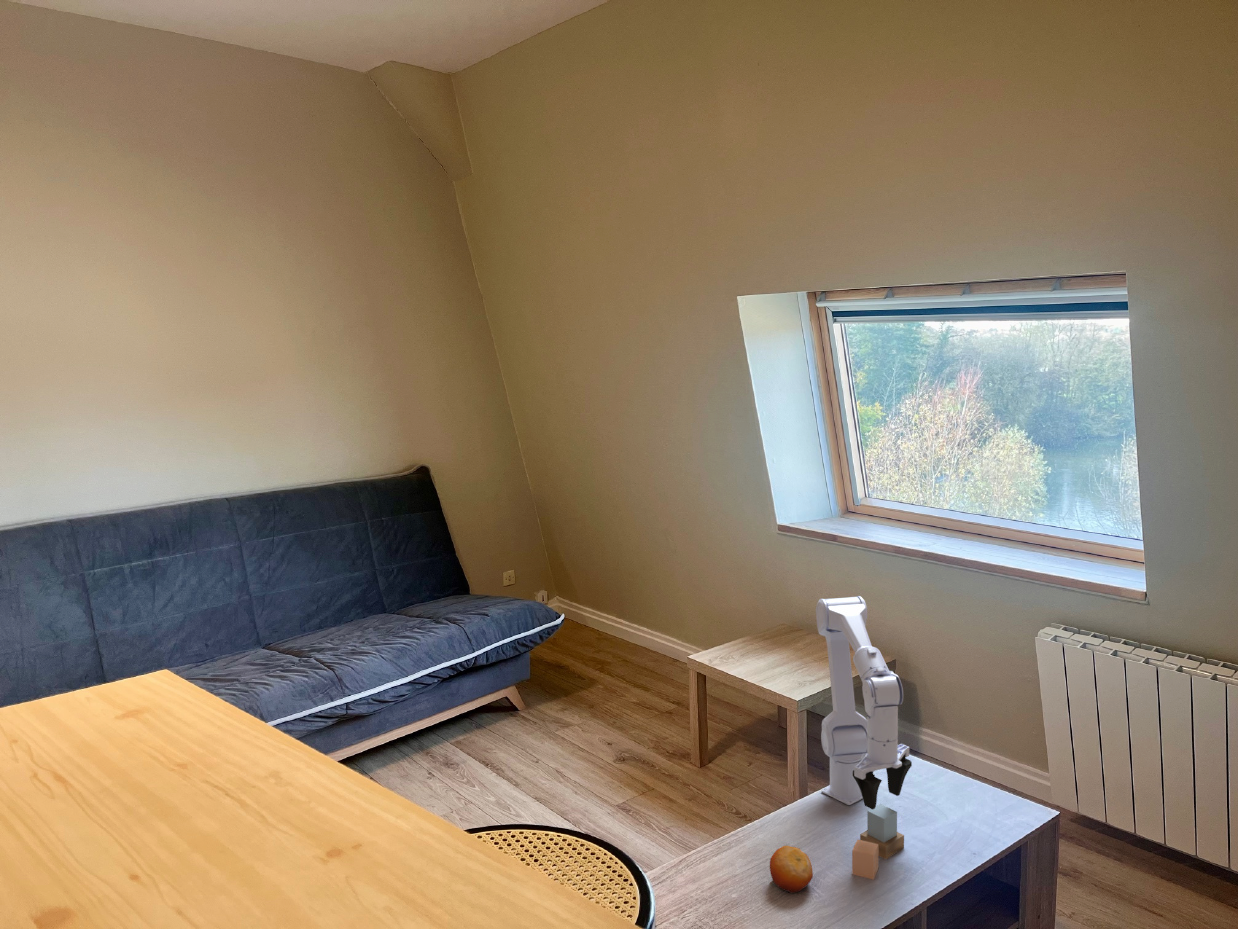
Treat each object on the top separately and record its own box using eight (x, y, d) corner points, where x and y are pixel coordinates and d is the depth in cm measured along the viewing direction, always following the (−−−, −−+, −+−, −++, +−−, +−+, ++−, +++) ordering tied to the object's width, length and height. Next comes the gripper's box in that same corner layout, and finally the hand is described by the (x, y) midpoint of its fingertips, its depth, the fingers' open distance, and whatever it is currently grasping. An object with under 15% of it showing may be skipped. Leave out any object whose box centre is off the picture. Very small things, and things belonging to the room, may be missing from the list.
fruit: (774, 857, 177) (792, 832, 174) (806, 889, 174) (825, 864, 170) (752, 878, 171) (770, 851, 168) (784, 911, 168) (804, 885, 164)
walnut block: (878, 837, 186) (878, 823, 186) (904, 849, 181) (904, 835, 181) (860, 848, 182) (860, 834, 182) (885, 861, 178) (885, 846, 177)
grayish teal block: (880, 827, 184) (880, 804, 183) (896, 835, 181) (897, 812, 180) (867, 834, 182) (867, 810, 181) (883, 842, 179) (883, 819, 178)
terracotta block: (857, 863, 177) (857, 839, 176) (878, 868, 175) (878, 844, 174) (852, 874, 173) (852, 850, 173) (873, 880, 172) (873, 855, 171)
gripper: (875, 754, 171) (875, 821, 173) (922, 731, 179) (922, 795, 181) (845, 741, 176) (845, 807, 179) (892, 719, 185) (892, 782, 187)
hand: (882, 800), depth 180 cm, fingers open, 7 cm apart
